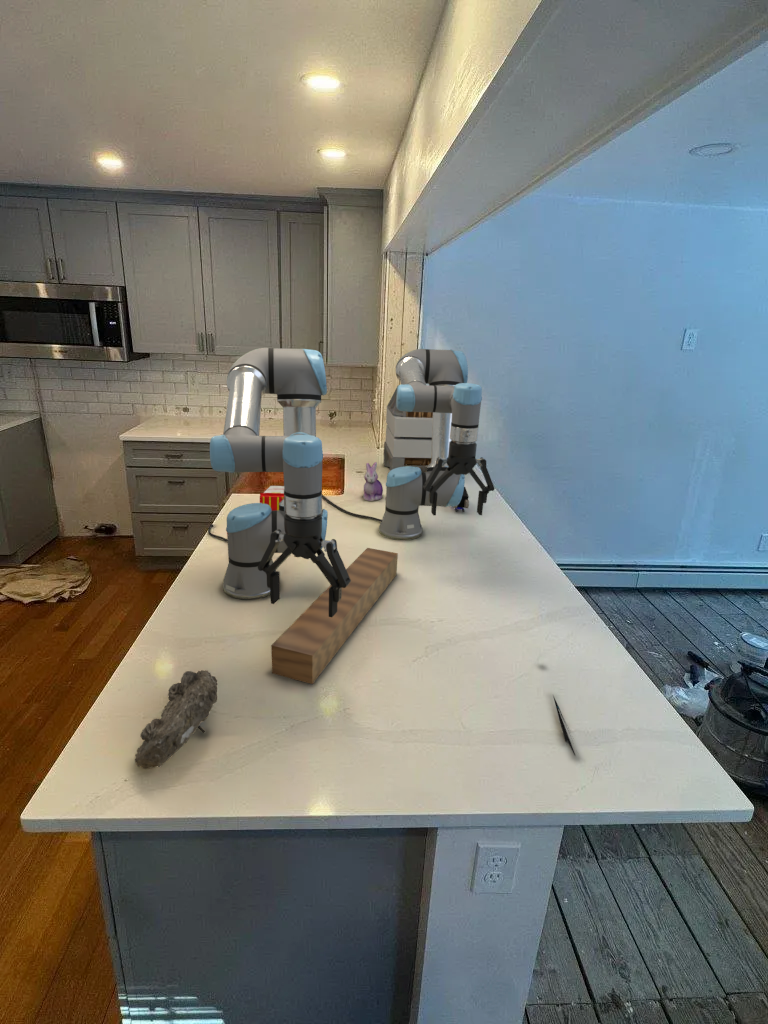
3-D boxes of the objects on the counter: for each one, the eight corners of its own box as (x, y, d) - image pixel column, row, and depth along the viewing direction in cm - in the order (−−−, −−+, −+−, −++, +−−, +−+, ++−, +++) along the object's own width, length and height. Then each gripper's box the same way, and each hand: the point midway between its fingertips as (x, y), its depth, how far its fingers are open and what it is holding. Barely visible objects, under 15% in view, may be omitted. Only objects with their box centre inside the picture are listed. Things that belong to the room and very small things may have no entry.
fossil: (167, 671, 114) (219, 638, 109) (200, 702, 116) (252, 671, 112) (109, 762, 94) (169, 727, 89) (151, 796, 97) (212, 765, 92)
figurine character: (469, 517, 223) (463, 501, 236) (471, 500, 219) (465, 484, 233) (452, 516, 222) (447, 500, 236) (454, 499, 219) (449, 483, 232)
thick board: (366, 568, 172) (367, 547, 170) (396, 574, 169) (397, 553, 167) (271, 673, 122) (271, 645, 119) (312, 684, 119) (312, 655, 116)
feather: (542, 671, 128) (548, 665, 128) (575, 760, 102) (582, 753, 101) (536, 667, 128) (542, 661, 128) (567, 755, 102) (574, 748, 101)
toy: (300, 481, 221) (289, 494, 192) (300, 514, 224) (289, 533, 194) (268, 480, 221) (253, 493, 191) (269, 514, 223) (254, 532, 194)
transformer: (382, 463, 289) (386, 382, 275) (445, 464, 293) (451, 384, 279) (390, 482, 257) (394, 392, 243) (460, 483, 261) (468, 394, 247)
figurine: (367, 502, 230) (368, 467, 225) (357, 495, 238) (358, 460, 233) (388, 500, 234) (389, 465, 229) (377, 492, 242) (378, 458, 237)
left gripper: (238, 510, 113) (242, 603, 121) (353, 530, 106) (351, 628, 113) (258, 499, 120) (261, 588, 127) (368, 517, 113) (364, 611, 120)
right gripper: (421, 444, 151) (416, 518, 158) (511, 444, 154) (502, 517, 162) (416, 437, 158) (411, 509, 165) (502, 438, 161) (494, 508, 168)
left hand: (303, 607), depth 120 cm, fingers open, 13 cm apart
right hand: (456, 513), depth 163 cm, fingers open, 13 cm apart
